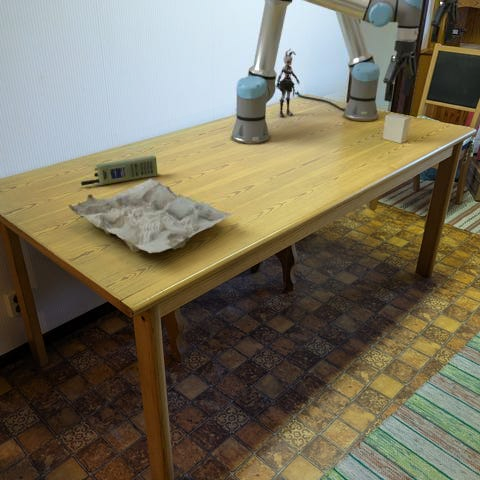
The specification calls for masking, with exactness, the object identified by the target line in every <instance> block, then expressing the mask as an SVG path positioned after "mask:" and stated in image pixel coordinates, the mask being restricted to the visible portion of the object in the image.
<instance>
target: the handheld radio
mask: <svg viewBox="0 0 480 480" xmlns="http://www.w3.org/2000/svg"><path fill="white" fill-rule="evenodd" d="M157 164H158V163H157V156H156V155H147V156H141V157H140V156H139V157H134V158H127V159H121V160H115V161H108V162H101V163H96V164H93V167H94V168H93V171H97V172H95V173H94V174H93V175H94V177H96V179H90V180H83V181H82V180H81V181H80V185H81V186H88V185H93V184H94V185H96V186H97V187H98V186H99V187H100V186H105V185H109V184H115V183H121V182H128V181H134V180H139V179H144V178H151V177H156V176H158V175H159V174H158V165H157Z"/></svg>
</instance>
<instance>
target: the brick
mask: <svg viewBox="0 0 480 480" xmlns="http://www.w3.org/2000/svg"><path fill="white" fill-rule="evenodd" d="M411 119H412V118H411V117H410V116H406V115H402V114H397V113H392V112H390V113H389V114H385V118H384V124H383V131H382V140H386V141H391V142H394V143H398V144H403V143H405V142H407V140H408V135H409V129H410V125H411V124H410V123H411Z"/></svg>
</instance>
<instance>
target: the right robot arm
mask: <svg viewBox="0 0 480 480" xmlns="http://www.w3.org/2000/svg"><path fill="white" fill-rule="evenodd" d="M458 7H459V0H438V4H437V7H436V10H435V12H434V15H433V17H432V20H431V23H430V26H431V27H433V28H432V32H431V37H430V43H432V44H433V43H435V44H438V40H439V36H440V35H439V34H440V30H441V24H442V21H443V19H444V18H445V16H446V14H447V18H448V23H447V26H446V31H445V36H444V40H449V41H452V38H453V33H454V28H455V25H457V24H458V22H459V21H458V18H459V15H458V14H459V9H458ZM334 12H335V15H336V18H337V21H338V25H339V28H340V31H341V34H342V35H341V36H342V38H343V41H344V44H345V47H346V51H347V54H348V57H349V60H348V62H347V65H348V69H349V72H350V76H351V85H350V92H349V100H348V102H347V105H346V107H341V106H339V105H338V104H335V103H334V102H331V101H330V100H327V99H323V98H316V97H311V96H306V95H302V94H300V93H299V91H298V90H297V93H296V92H295V93H296V94H295V95H297V96H298V97H299V98H303V99H309V100H314V101H319V102H324V103H327V104H329V105H331V106H333V107H335V108H337V109H338V110H341V111H343V117H344V118H345V119H347V120H350V121H353V122H373V121H376V120H377V119H378V115H379V114H378V108H377V103H376V100H377V94H378V85H379V81H380V80H379V77H380V75H381V68H380V66H379V65H378V64H376V63H375V60H374V59H375V58H374V55H373V54H372V53H370V52H369V50H368V47H367V44H366V40H365V37H364V33H363V30H362V27H361V23H360V19H357V18H354V17H351V16H348V15H345V14H342V13H339V12H336V11H334Z"/></svg>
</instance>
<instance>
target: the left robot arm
mask: <svg viewBox="0 0 480 480" xmlns="http://www.w3.org/2000/svg"><path fill="white" fill-rule="evenodd" d="M302 1H303V2H306V3H309V4H312V5H315V6H319V7H321V8H324V9H328V10H331V11H332V12H335V11H336V12H339V13H342V14H345V15H348V16H351V17H354V18H357V19H359V21H363V22H366V23H368V24H371V25H372V26H374V27H376V28H383V27H385V26H387V25H388V24H389V23H397V27H396V34H395V39H396V40H395V41H394V48H393V50H394V51H395V52H396V55H394V54H393V55H391V57H390V62H389V64H388V67H387V69H386V72H385V75H384V77H383V81H382V82H383V83H384V84H386V86H385V93H384V99H383V100H384V102H390V103H391V102H392V100H393V94H394V87H395V84H394V82H395V80H396V77H397V76H398V74H399V73H400V71H401V69H404V72H405V75H406V77H405V79H404V85H403V92H402V95H403V96H407V97H410V96H411V92H412V87H413V81H414V80H413V79H416V78H417V75H418V73H417V71H418V70H417V61H416V60H417V59H416V55H417V52H416V47H417V41H416V40H417V38H418V35H419V28H420V23H421V16H422V11H423V1H424V0H302ZM292 3H293V0H264V5H263V11H262V17H261V22H260V28H259V29H260V30H259V32H258V33H259V34H258V39H257V43H256V49H255V55H254V59H253V65H251V66H250V67H249V68H248V73H247V76H245V77H241V78H240V79H239V80H238V81H237V82H236V87H235V92H236V119H235V123H234V125H233V129H232V133H231V140H233V141H234V142H236V143H240V144H246V145H247V144H248V145H257V144H262V143H266V142H268V141H269V140H270V130H269V127H268V124H267V121H266V112H267V108H266V107H267V103H268V102H269V101H271V99H273V97H274V95H275V92H276V90H277V88H276V85H277V84H276V81H277V76H278V74H277V72H276V70H275V66H276V63H277V57H278V52H279V48H280V43H281V38H282V34H283V33H282V32H283V30H284V29H283V28H284V24H285V19H286V14H287V10H288V6H289V5H291V4H292ZM336 12H335V13H336Z"/></svg>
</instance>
